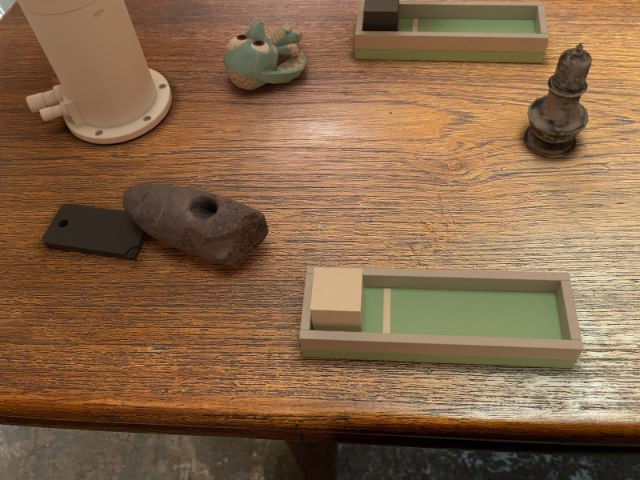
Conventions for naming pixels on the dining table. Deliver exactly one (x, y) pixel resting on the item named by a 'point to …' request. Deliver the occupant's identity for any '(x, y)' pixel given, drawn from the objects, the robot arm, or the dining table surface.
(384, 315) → the tray
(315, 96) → the dining table surface
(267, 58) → the teal creature figurine
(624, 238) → the dining table surface
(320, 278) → the beige cube
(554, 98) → the chess piece
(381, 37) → the green beige rectangular tray
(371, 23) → the dark brown cube
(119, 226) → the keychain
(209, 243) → the perforated stone tool
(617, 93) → the dining table surface
